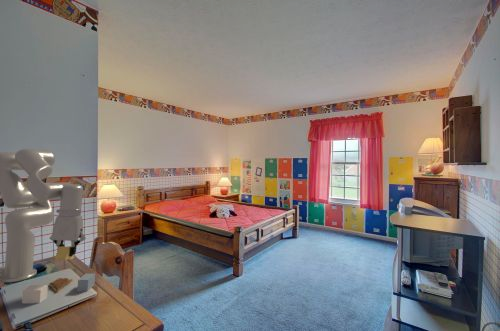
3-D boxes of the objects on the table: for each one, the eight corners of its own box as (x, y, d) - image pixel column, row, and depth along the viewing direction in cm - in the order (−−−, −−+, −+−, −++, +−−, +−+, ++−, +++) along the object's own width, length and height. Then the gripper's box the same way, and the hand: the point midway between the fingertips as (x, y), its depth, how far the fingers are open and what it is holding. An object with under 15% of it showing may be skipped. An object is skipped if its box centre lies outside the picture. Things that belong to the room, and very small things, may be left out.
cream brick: (22, 303, 89) (23, 290, 89) (30, 297, 93) (31, 285, 93) (39, 303, 90) (40, 290, 90) (47, 297, 94) (47, 285, 94)
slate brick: (87, 291, 100) (88, 279, 100) (77, 291, 100) (78, 279, 100) (94, 284, 106) (95, 273, 106) (84, 284, 105) (85, 273, 106)
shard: (57, 294, 98) (57, 289, 98) (37, 294, 97) (37, 289, 97) (73, 281, 108) (73, 277, 108) (55, 281, 107) (56, 277, 108)
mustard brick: (65, 259, 98) (68, 246, 99) (54, 259, 97) (58, 246, 99) (73, 258, 103) (76, 246, 105) (63, 258, 103) (66, 246, 105)
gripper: (42, 213, 97) (38, 257, 97) (86, 215, 99) (82, 259, 99) (55, 210, 104) (51, 251, 104) (95, 212, 107) (91, 252, 106)
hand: (66, 254), depth 102 cm, fingers closed on mustard brick, 3 cm apart
